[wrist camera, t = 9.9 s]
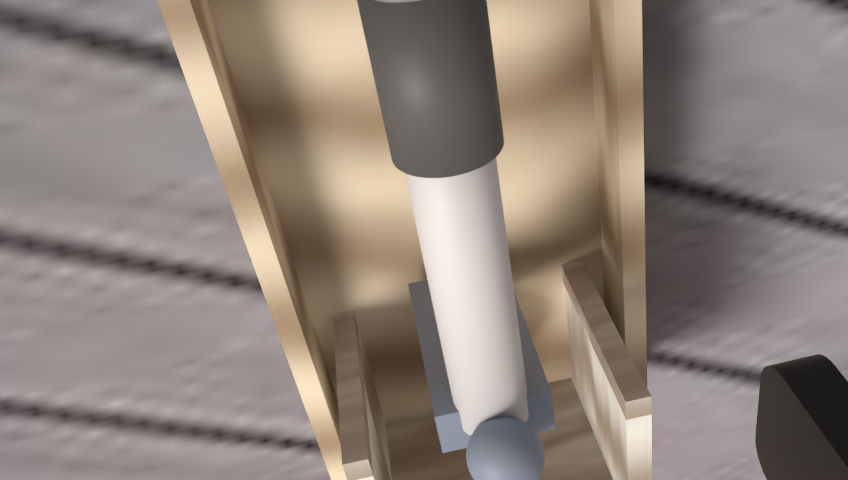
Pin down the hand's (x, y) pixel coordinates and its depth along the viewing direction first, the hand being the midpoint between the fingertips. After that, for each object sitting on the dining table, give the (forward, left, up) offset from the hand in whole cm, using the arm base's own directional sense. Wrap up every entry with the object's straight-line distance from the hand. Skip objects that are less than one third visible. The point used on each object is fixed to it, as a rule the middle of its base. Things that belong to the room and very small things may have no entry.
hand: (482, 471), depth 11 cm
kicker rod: (+6, +1, -22) cm, 22 cm away
